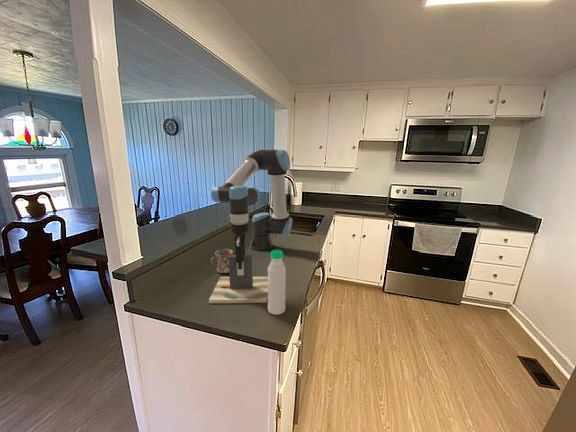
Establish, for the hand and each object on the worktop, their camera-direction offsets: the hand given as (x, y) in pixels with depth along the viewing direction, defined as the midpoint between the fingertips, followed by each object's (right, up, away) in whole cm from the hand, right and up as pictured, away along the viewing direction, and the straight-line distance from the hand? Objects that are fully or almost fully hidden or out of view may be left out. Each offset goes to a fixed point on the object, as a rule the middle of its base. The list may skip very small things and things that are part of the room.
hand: (241, 273), depth 107 cm
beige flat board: (0, -8, +2) cm, 9 cm away
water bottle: (+16, -12, -12) cm, 24 cm away
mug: (-14, -4, +20) cm, 25 cm away
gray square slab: (-2, -7, +1) cm, 7 cm away
